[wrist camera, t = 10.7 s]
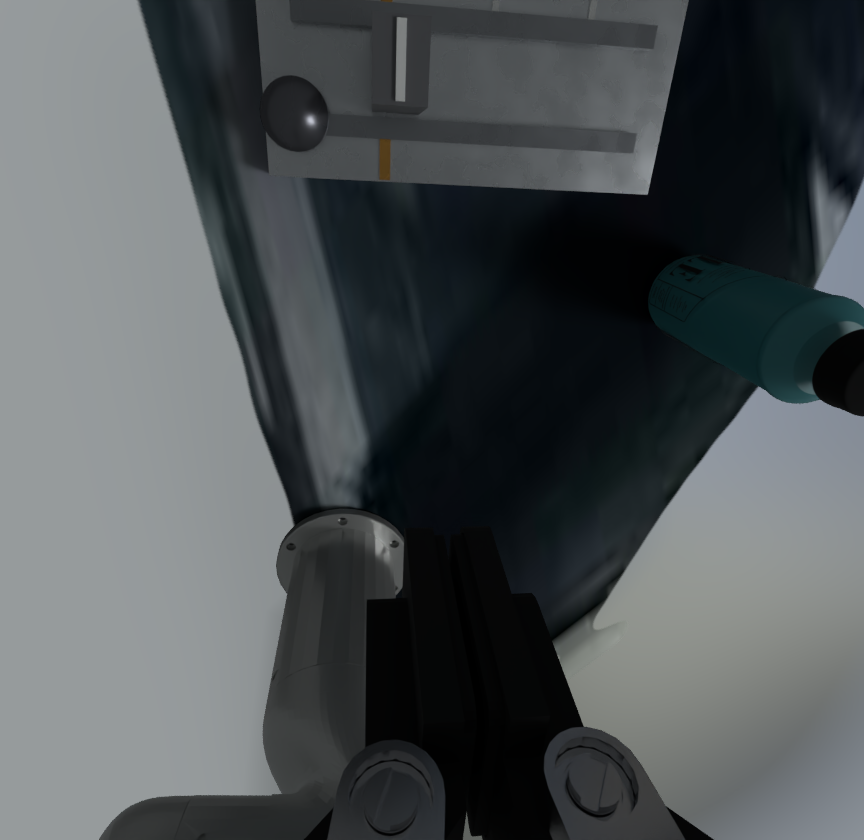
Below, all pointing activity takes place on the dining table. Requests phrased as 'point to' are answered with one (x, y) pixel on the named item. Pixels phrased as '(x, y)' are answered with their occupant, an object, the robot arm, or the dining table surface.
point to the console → (474, 93)
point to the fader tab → (400, 62)
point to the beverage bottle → (765, 329)
